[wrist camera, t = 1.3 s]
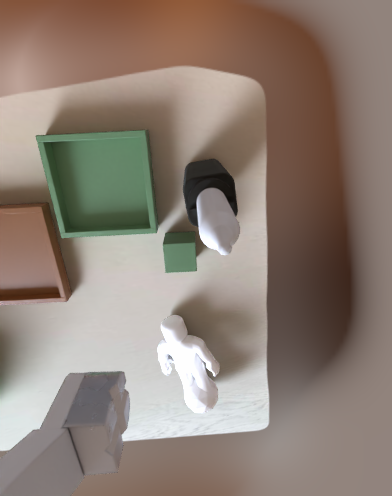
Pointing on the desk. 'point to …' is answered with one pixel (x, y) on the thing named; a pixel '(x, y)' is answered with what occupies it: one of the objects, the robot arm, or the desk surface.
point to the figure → (189, 364)
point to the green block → (180, 252)
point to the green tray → (100, 182)
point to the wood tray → (30, 256)
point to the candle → (212, 204)
